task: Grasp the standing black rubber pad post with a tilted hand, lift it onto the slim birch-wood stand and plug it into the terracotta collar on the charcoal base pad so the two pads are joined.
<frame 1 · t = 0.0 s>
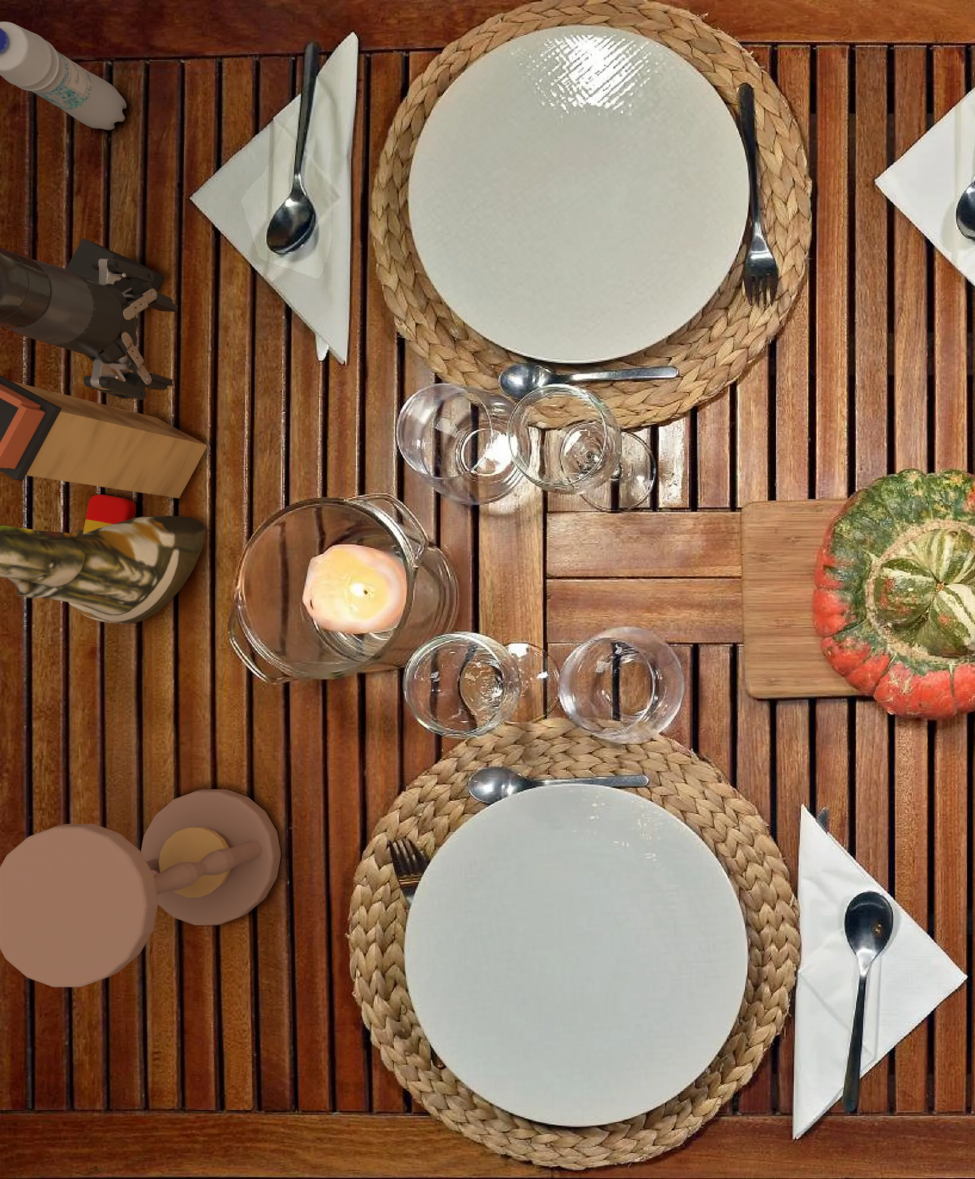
hand: (167, 345, 123), 19 cm above the table, tool pointing down, fingers open, 8 cm apart
pad post: (141, 284, 143), on the table
bottle: (110, 112, 143), on the table
statue: (168, 571, 142), on the table
hourglass: (217, 854, 141), on the table
popsicle: (110, 552, 142), on the table
base pad: (7, 425, 117), resting on stand
stand: (167, 457, 142), on the table
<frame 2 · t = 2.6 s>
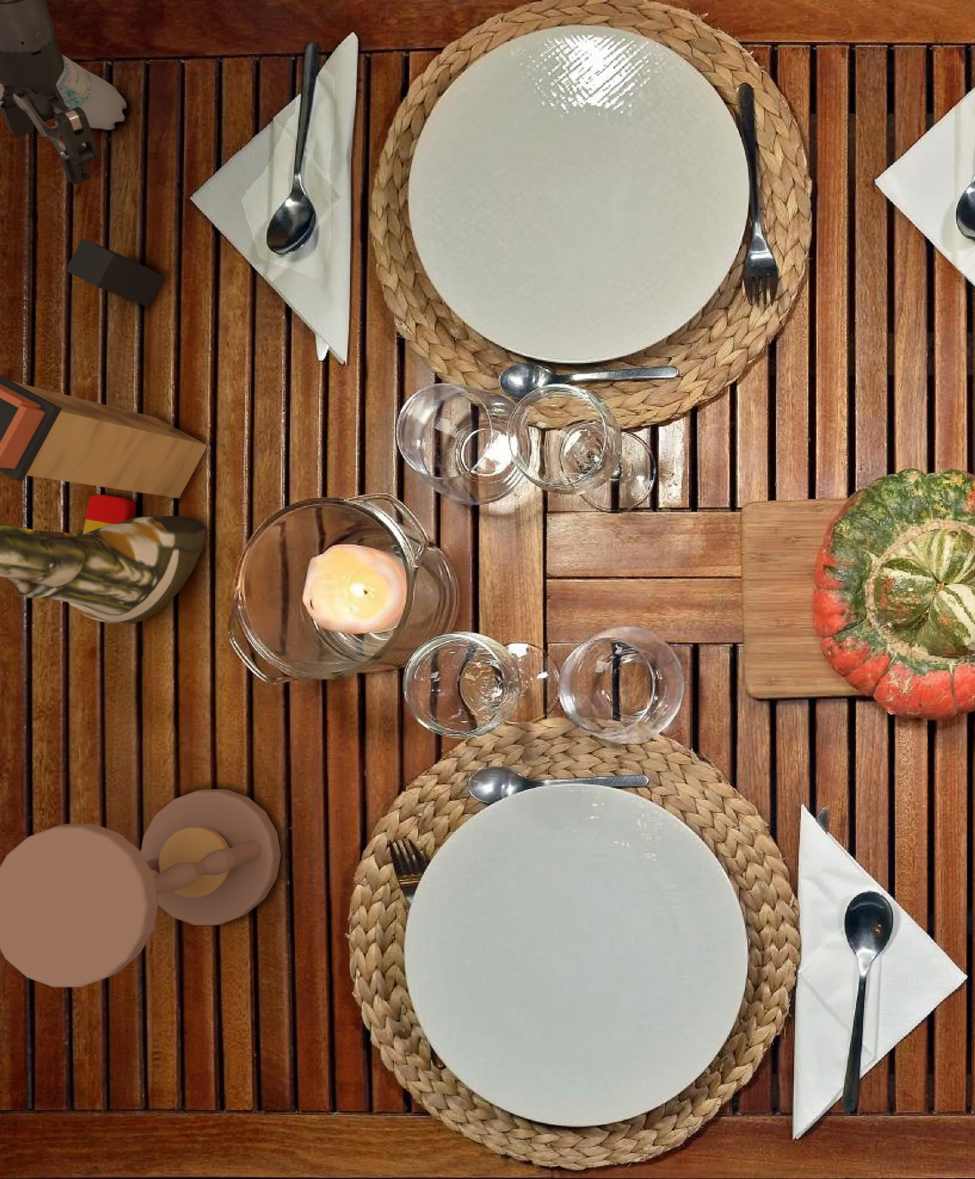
hand: (51, 156, 118), 24 cm above the table, tool tilted 35°, fingers open, 8 cm apart
nothing on the table moved.
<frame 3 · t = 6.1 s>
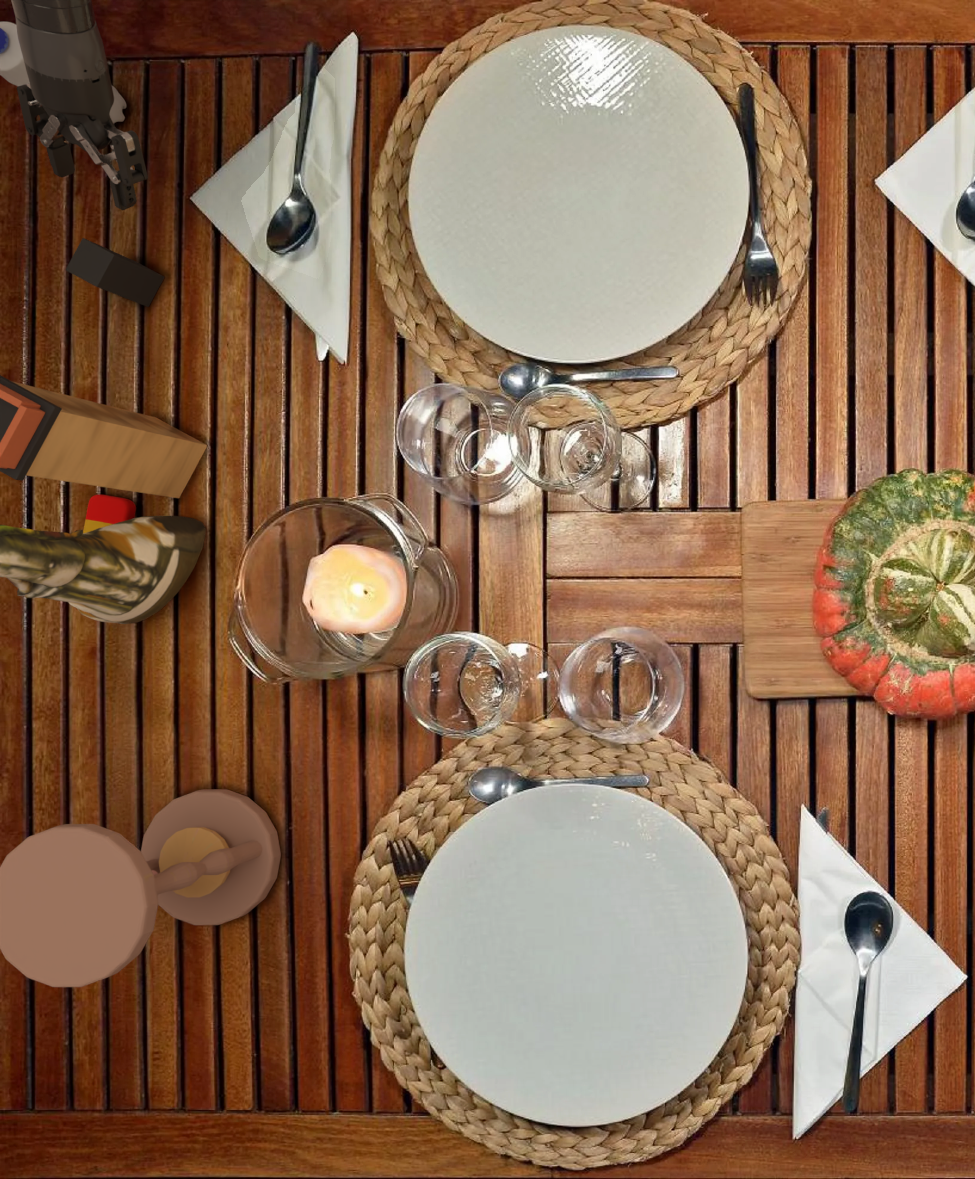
hand: (95, 190, 130), 13 cm above the table, tool tilted 45°, fingers open, 8 cm apart
nothing on the table moved.
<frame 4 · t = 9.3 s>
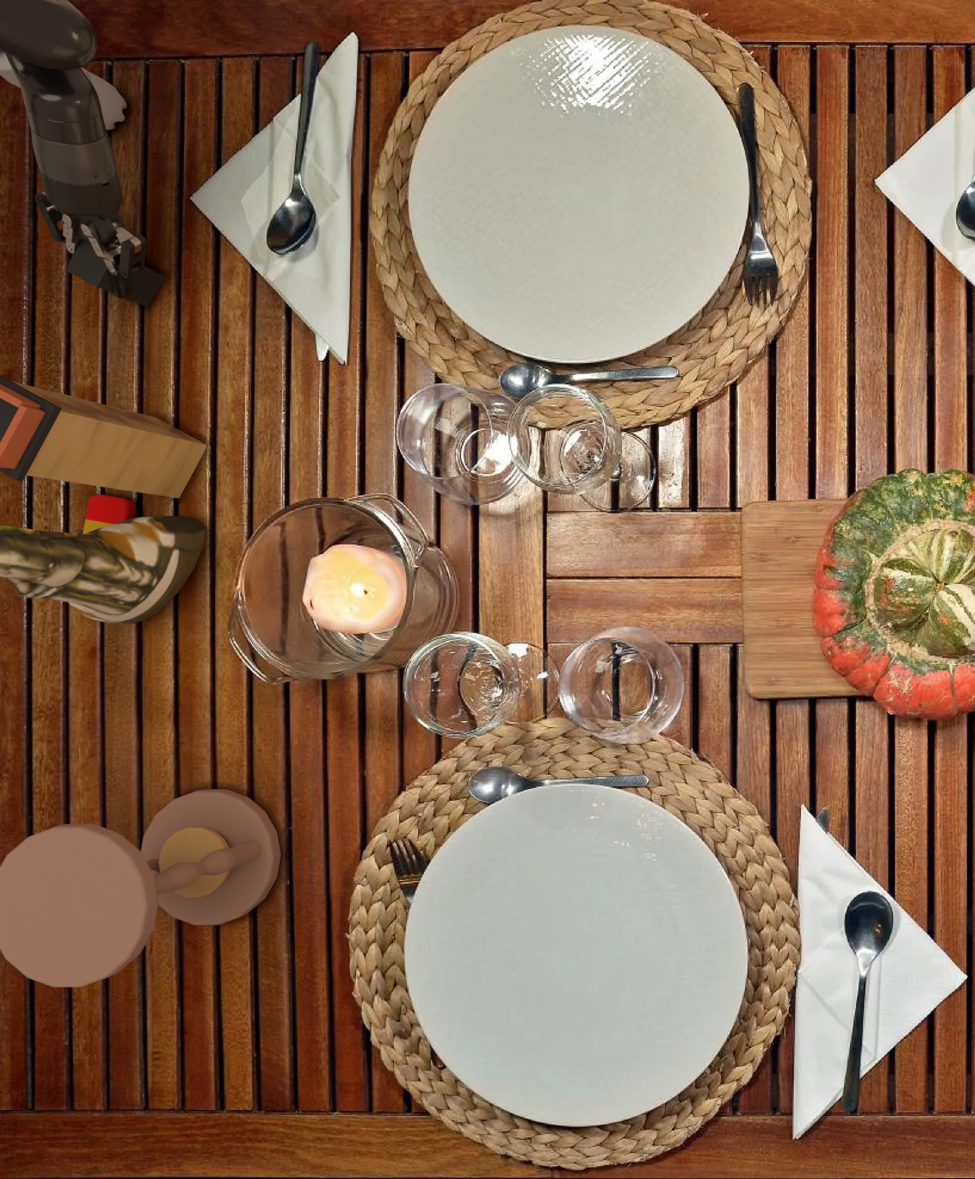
hand: (106, 285, 137), 5 cm above the table, tool tilted 45°, fingers closed on pad post, 4 cm apart
pad post: (141, 284, 143), on the table, touching gripper
everything else where it was.
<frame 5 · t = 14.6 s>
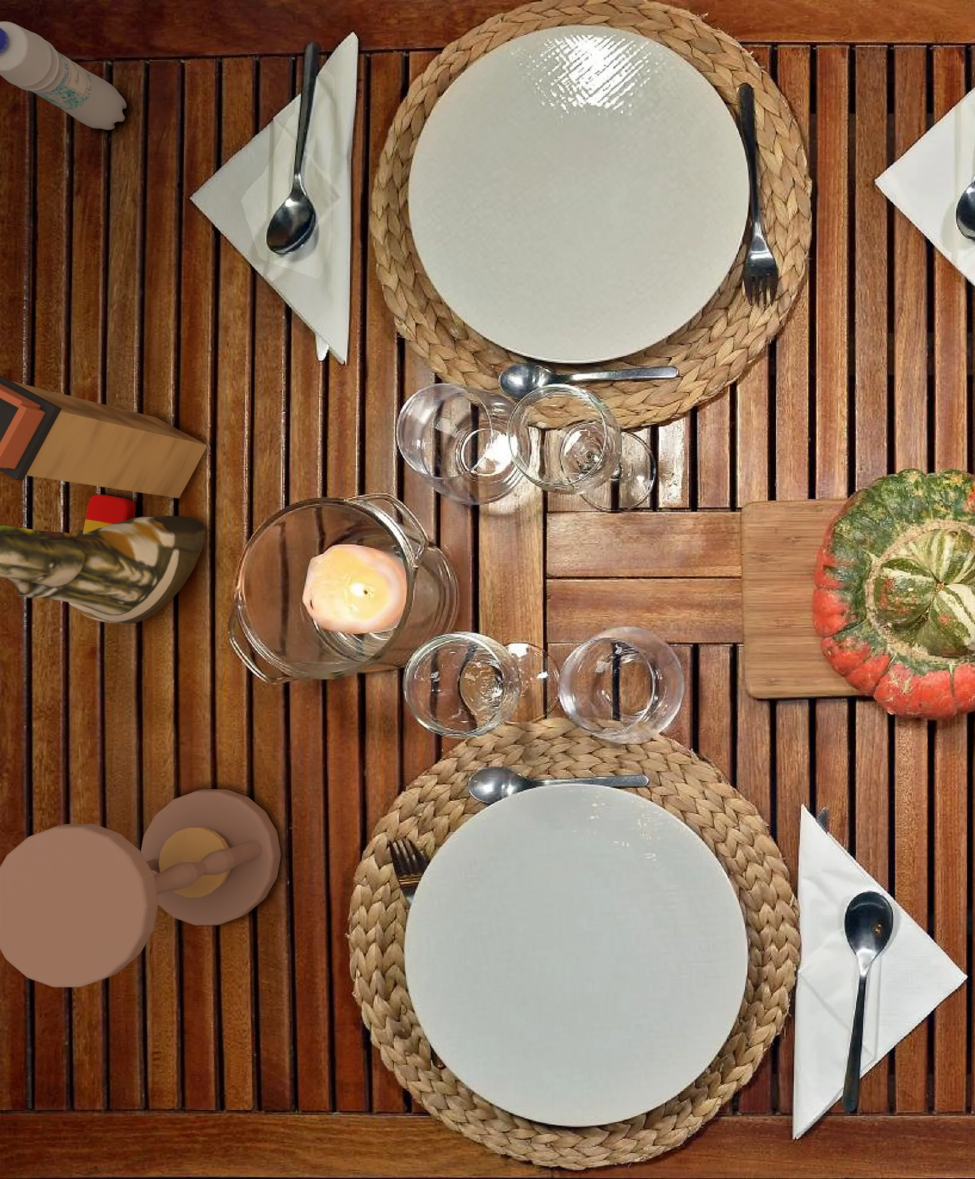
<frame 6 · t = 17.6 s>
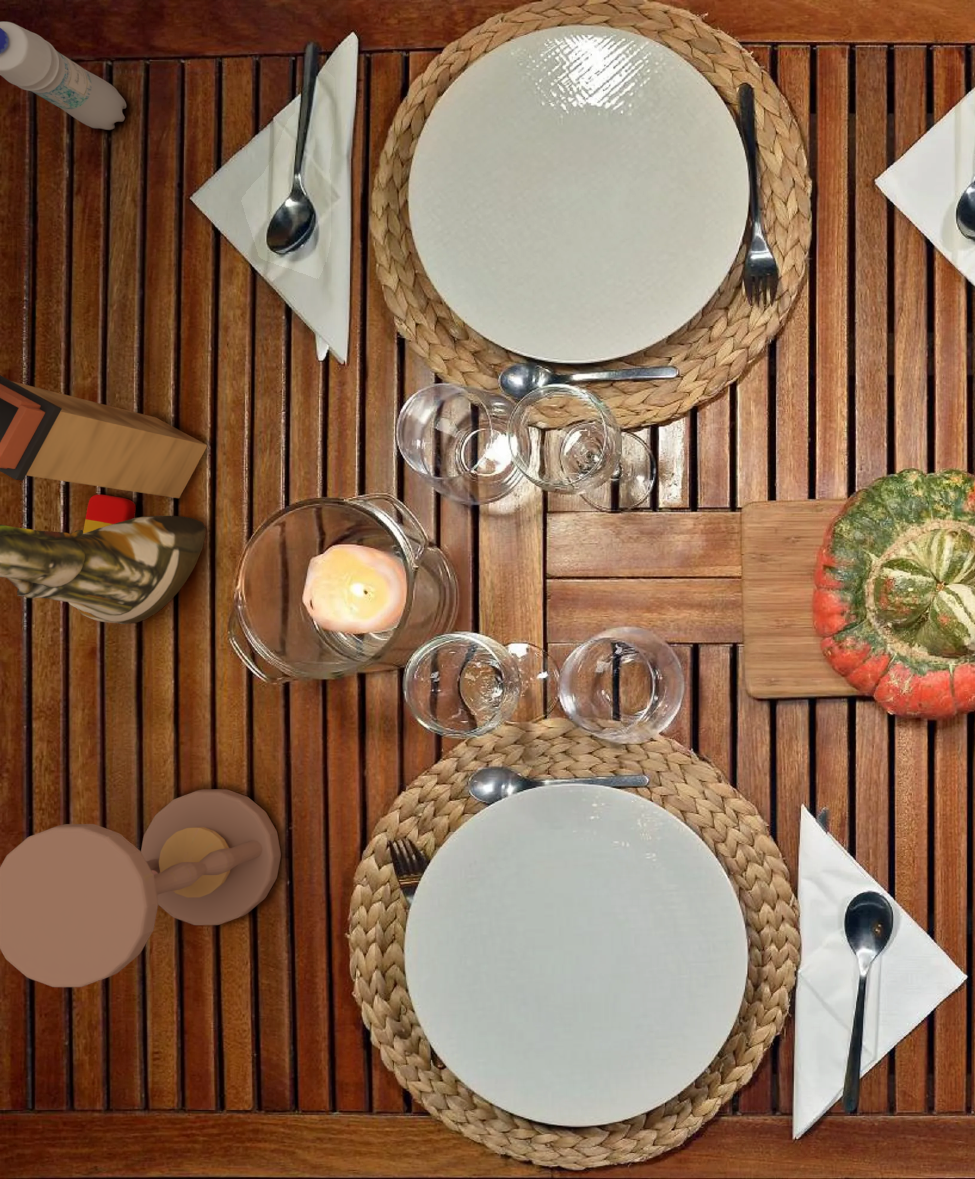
when the fingers open (31 cm above the table, at t = 20.0 s): pad post stays where it is, resting on base pad.
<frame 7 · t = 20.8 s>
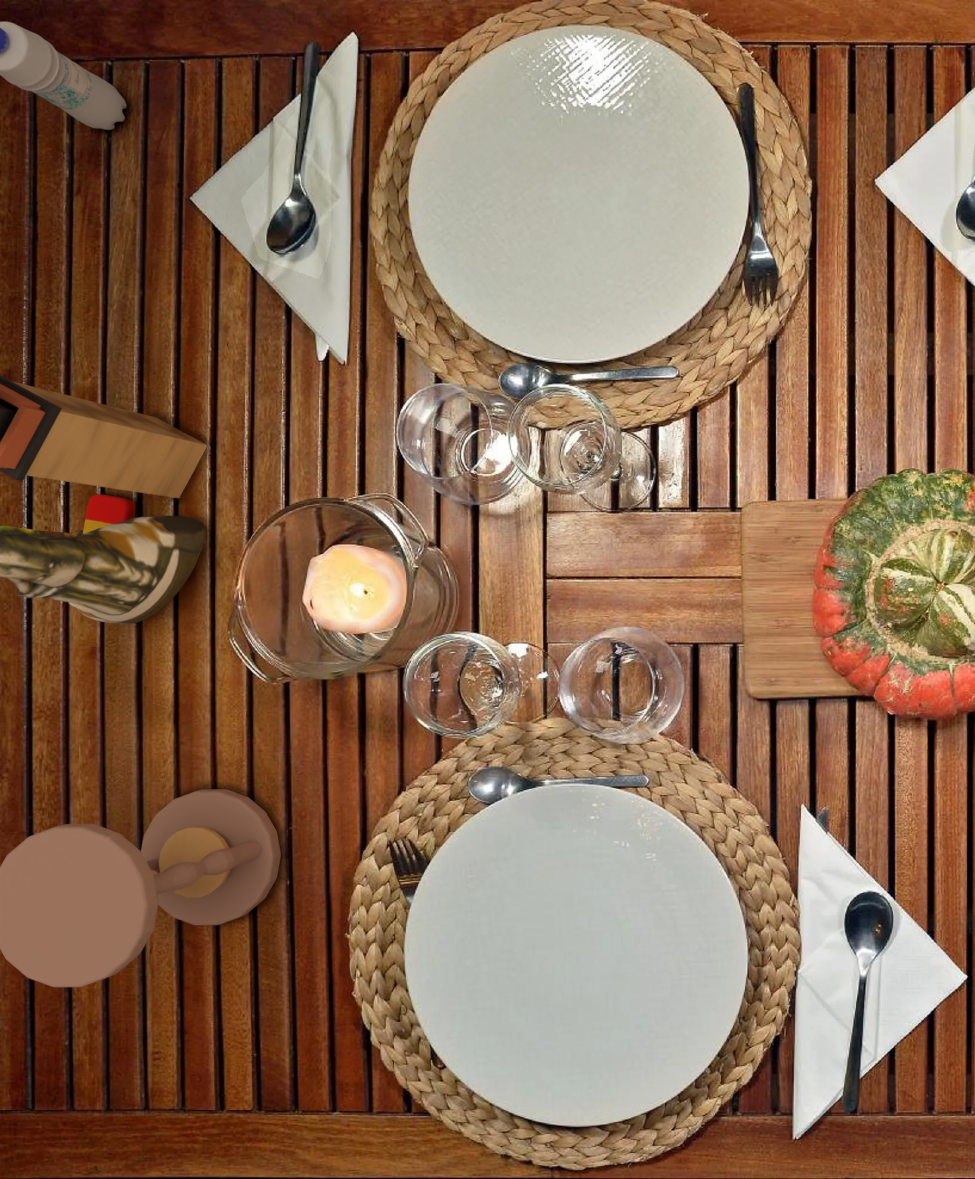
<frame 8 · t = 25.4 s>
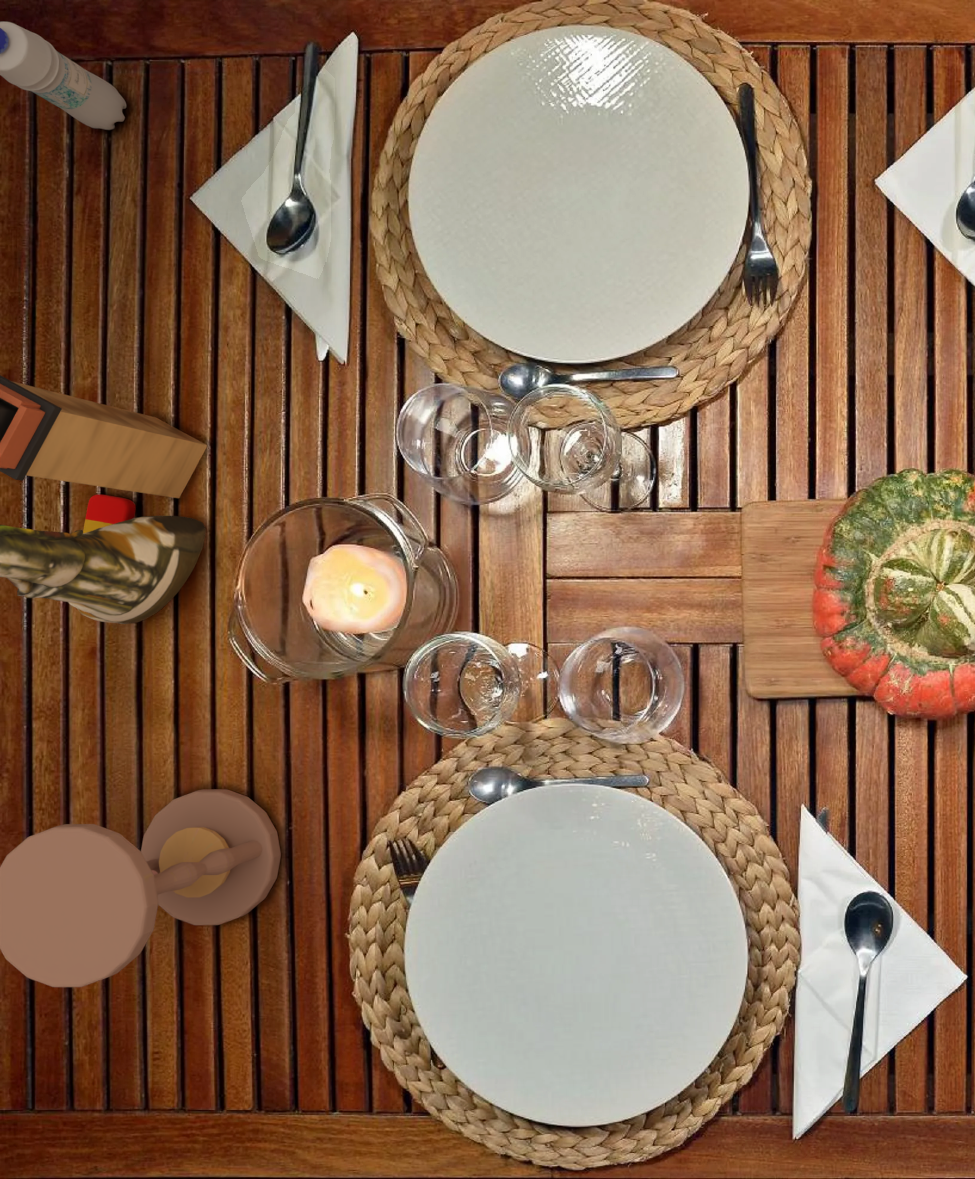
at the end: pad post 0.1 cm off-centre on the base pad, point 1.0 cm above the base pad's base; pad post tilted 0°; the gripper is holding nothing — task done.
